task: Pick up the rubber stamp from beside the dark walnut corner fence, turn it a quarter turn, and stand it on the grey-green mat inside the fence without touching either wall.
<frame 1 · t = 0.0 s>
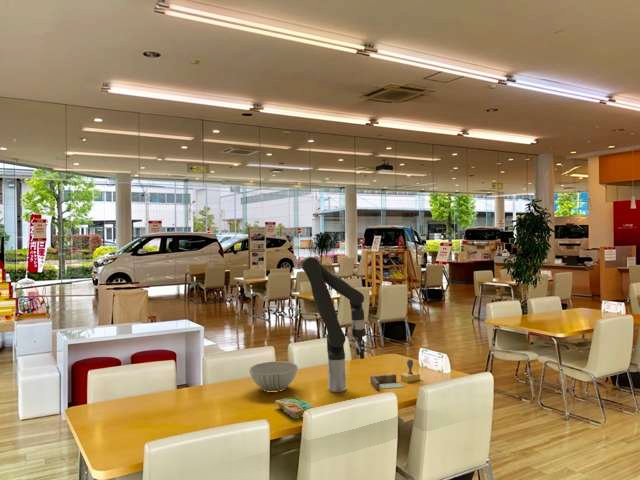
hand: (360, 356, 277), 17 cm above the table, tool pointing down, fingers open, 8 cm apart
decorative bowl: (274, 389, 280), on the table
resting mat: (390, 385, 280), on the table
corner fence: (387, 386, 279), on the table
puzzle game: (294, 412, 244), on the table
rubber stamp: (410, 380, 290), on the table
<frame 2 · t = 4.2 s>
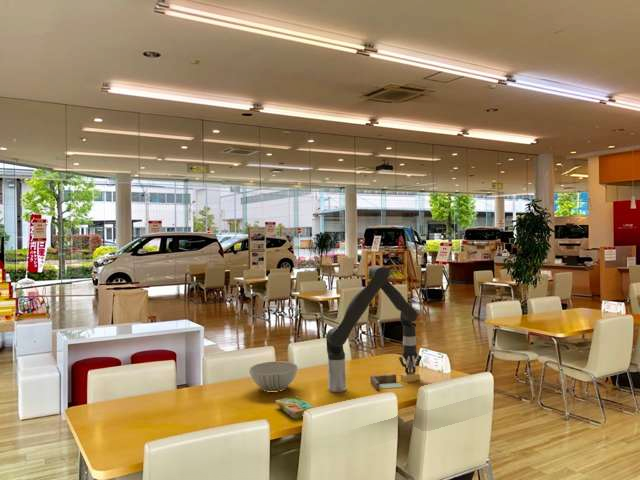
hand: (410, 373, 289), 4 cm above the table, tool pointing down, fingers open, 3 cm apart
nothing on the table moved.
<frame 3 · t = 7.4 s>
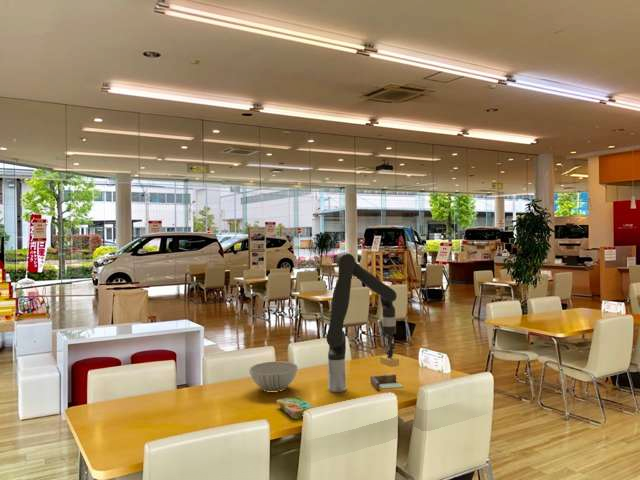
hand: (389, 355, 279), 17 cm above the table, tool pointing down, fingers closed on rubber stamp, 3 cm apart
rubber stamp: (389, 364, 280), point 12 cm above the table, touching gripper
everything else where it was.
when the fingers open (5 cm above the table, at t = 9.8 s): rubber stamp stays where it is, resting on resting mat.
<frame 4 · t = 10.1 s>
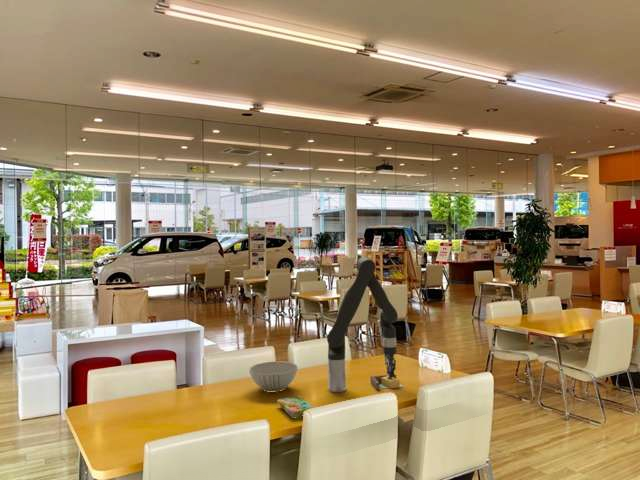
hand: (390, 375, 280), 6 cm above the table, tool pointing down, fingers open, 5 cm apart
rubber stamp: (390, 385, 280), resting on resting mat
everything else where it was.
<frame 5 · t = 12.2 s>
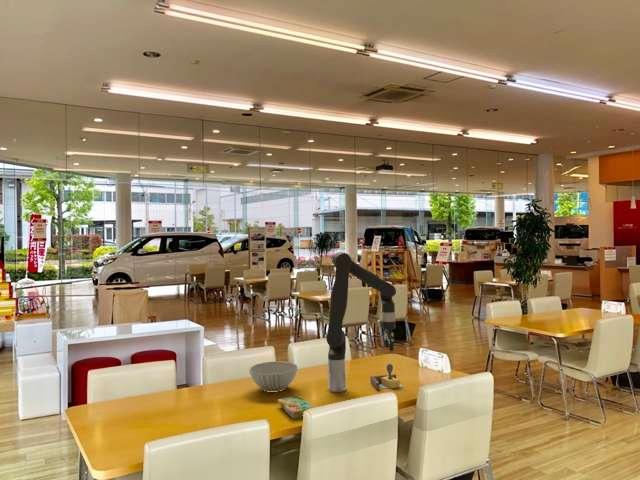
hand: (389, 349, 280), 20 cm above the table, tool pointing down, fingers open, 8 cm apart
nothing on the table moved.
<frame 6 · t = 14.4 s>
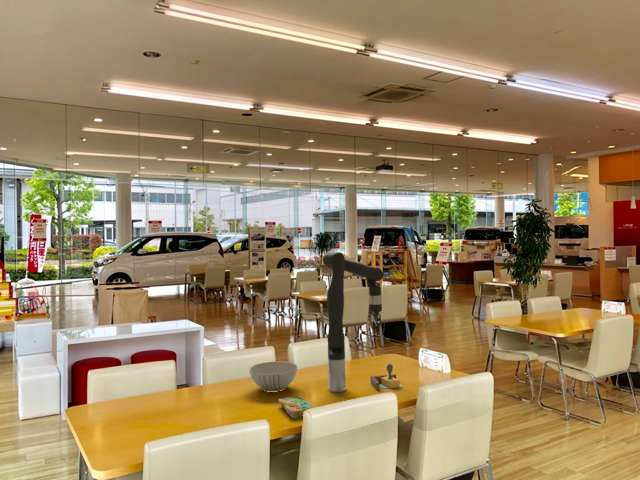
hand: (376, 330, 292), 28 cm above the table, tool pointing down, fingers open, 8 cm apart
at the end: rubber stamp 0.2 cm from the target spot, resting on resting mat; rubber stamp tilted 0°; rubber stamp touching resting mat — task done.
